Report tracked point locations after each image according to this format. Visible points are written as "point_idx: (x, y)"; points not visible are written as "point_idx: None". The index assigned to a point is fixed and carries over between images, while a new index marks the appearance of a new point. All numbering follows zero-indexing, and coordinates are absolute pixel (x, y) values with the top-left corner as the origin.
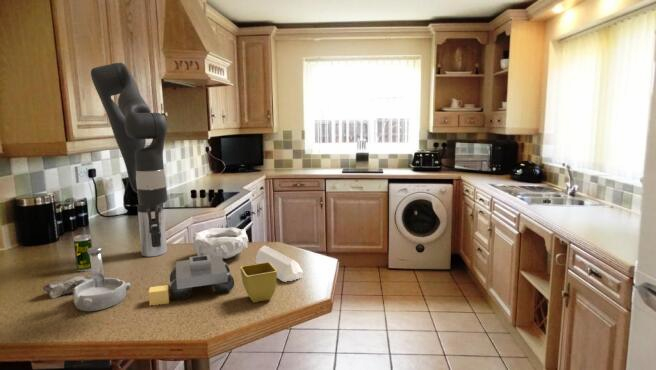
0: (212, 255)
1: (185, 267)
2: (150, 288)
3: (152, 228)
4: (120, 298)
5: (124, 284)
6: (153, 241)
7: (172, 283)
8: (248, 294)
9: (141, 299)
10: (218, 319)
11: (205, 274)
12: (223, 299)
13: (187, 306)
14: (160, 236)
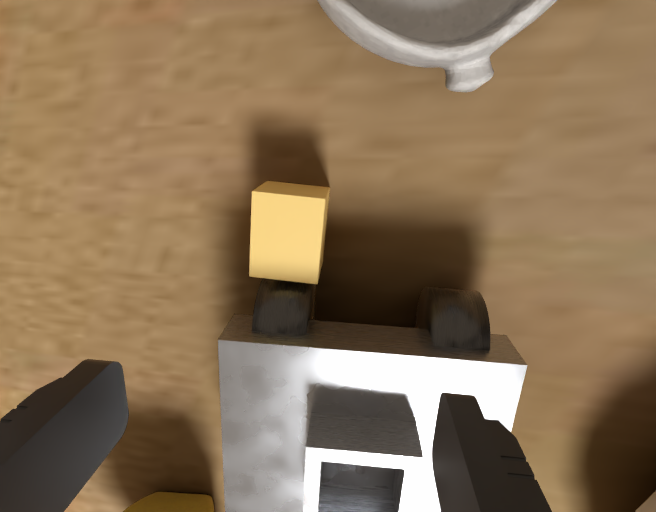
0: (651, 506)
1: (385, 397)
2: (305, 200)
3: (475, 506)
4: (357, 43)
5: (427, 58)
6: (10, 416)
7: (265, 308)
8: (156, 506)
9: (358, 145)
10: None
11: (231, 457)
12: (220, 425)
13: (204, 314)
14: (435, 466)
